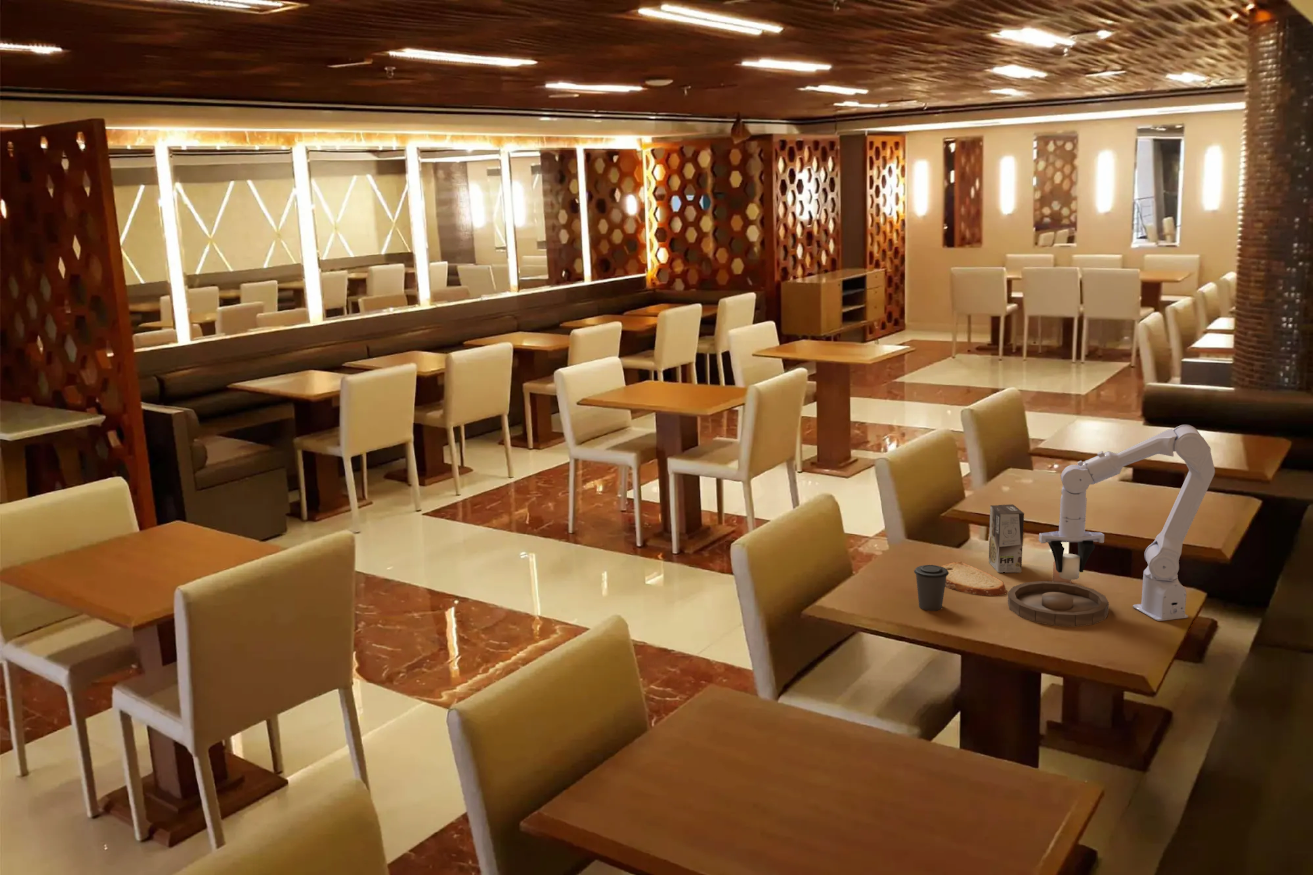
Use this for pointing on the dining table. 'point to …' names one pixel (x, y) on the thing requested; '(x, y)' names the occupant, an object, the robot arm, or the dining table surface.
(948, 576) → the bread slice
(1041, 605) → the groove tray
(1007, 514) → the coffee box
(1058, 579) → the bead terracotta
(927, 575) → the coffee cup
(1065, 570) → the translucent white cylinder
